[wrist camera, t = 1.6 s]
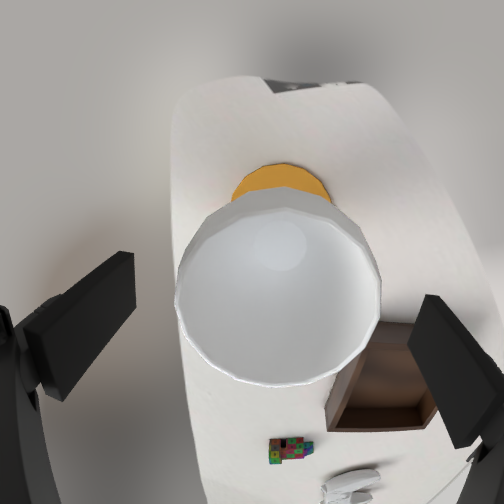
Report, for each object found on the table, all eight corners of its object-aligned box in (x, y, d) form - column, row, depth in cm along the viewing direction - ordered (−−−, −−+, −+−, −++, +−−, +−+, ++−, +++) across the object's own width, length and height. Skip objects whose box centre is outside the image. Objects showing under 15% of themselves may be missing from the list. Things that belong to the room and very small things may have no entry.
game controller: (372, 506, 40) (323, 522, 40) (366, 490, 45) (318, 505, 44) (385, 476, 36) (325, 496, 35) (376, 457, 40) (318, 475, 39)
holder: (356, 318, 30) (365, 341, 26) (460, 326, 29) (475, 346, 25) (324, 407, 35) (326, 431, 31) (416, 408, 34) (424, 429, 30)
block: (272, 453, 39) (271, 471, 36) (269, 439, 38) (268, 458, 34) (313, 451, 38) (314, 469, 35) (312, 436, 37) (313, 455, 34)
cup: (228, 261, 29) (176, 383, 14) (229, 161, 26) (157, 190, 11) (327, 267, 28) (364, 395, 13) (336, 167, 25) (411, 206, 10)
